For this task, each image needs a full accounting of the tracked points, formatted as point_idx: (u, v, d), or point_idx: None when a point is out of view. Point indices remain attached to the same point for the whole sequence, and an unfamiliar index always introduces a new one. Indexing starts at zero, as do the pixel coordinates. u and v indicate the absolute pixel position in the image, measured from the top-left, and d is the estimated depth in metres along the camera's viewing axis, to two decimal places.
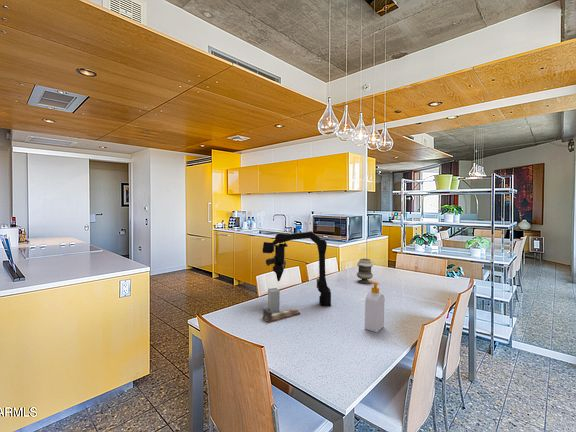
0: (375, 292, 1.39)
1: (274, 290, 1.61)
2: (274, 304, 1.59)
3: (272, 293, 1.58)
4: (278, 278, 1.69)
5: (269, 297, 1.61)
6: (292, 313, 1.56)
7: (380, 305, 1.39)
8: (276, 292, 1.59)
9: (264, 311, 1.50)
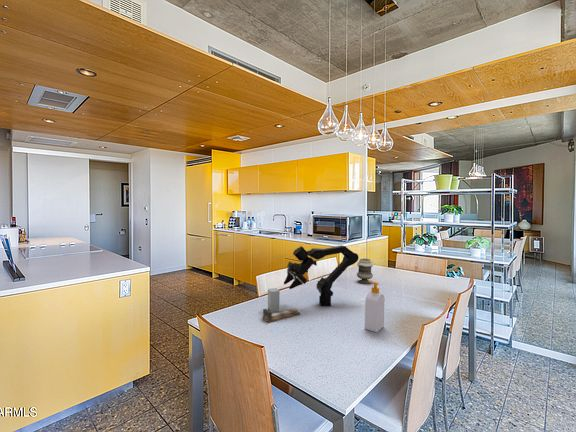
0: (375, 292, 1.39)
1: (274, 290, 1.61)
2: (274, 304, 1.59)
3: (272, 293, 1.58)
4: (292, 286, 1.60)
5: (269, 297, 1.61)
6: (292, 313, 1.56)
7: (380, 305, 1.39)
8: (276, 292, 1.59)
9: (264, 311, 1.50)
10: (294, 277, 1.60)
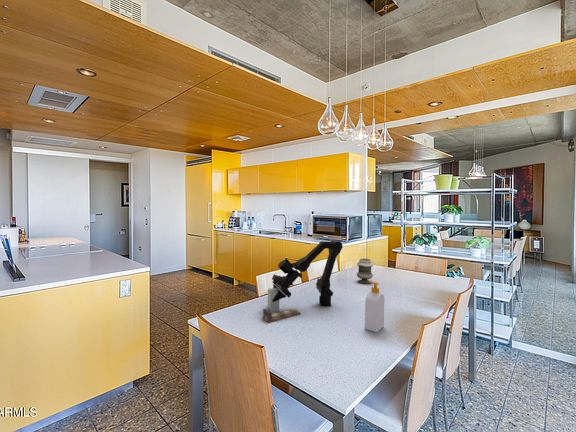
0: (375, 292, 1.39)
1: (274, 290, 1.61)
2: (274, 304, 1.59)
3: (272, 293, 1.58)
4: (275, 299, 1.58)
5: (269, 297, 1.61)
6: (292, 313, 1.56)
7: (380, 305, 1.39)
8: (276, 292, 1.59)
9: (264, 311, 1.50)
10: None
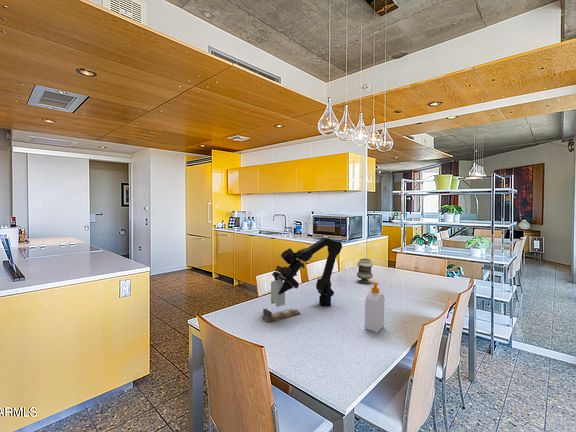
0: (375, 292, 1.39)
1: (279, 282, 1.52)
2: (280, 297, 1.51)
3: (278, 285, 1.50)
4: (281, 291, 1.50)
5: (274, 290, 1.52)
6: (292, 313, 1.56)
7: (380, 305, 1.39)
8: (282, 284, 1.51)
9: (264, 311, 1.50)
10: (284, 281, 1.51)
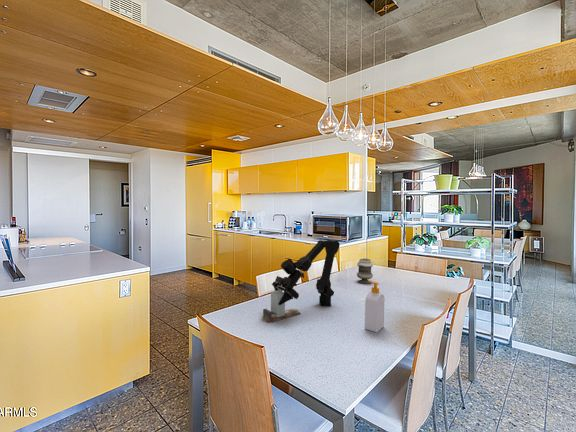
0: (375, 292, 1.39)
1: (279, 293, 1.52)
2: (280, 307, 1.50)
3: (278, 296, 1.49)
4: (281, 302, 1.50)
5: (274, 300, 1.51)
6: (292, 313, 1.56)
7: (380, 305, 1.39)
8: (282, 294, 1.51)
9: (264, 311, 1.50)
10: (284, 292, 1.50)
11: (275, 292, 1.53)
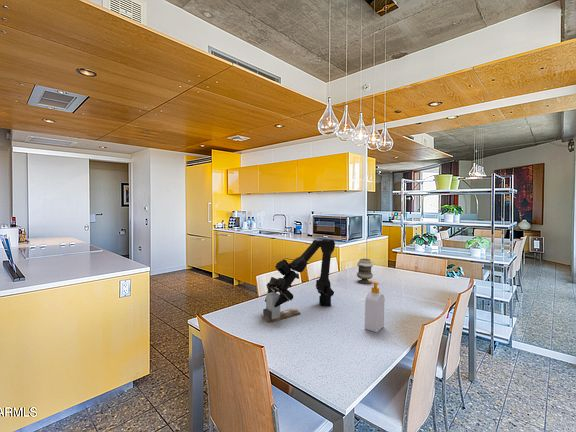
0: (375, 292, 1.39)
1: (274, 294, 1.50)
2: (275, 309, 1.49)
3: (273, 298, 1.48)
4: (277, 304, 1.46)
5: (269, 302, 1.49)
6: (292, 313, 1.56)
7: (380, 305, 1.39)
8: (277, 296, 1.49)
9: (264, 311, 1.50)
10: None
11: (270, 294, 1.51)
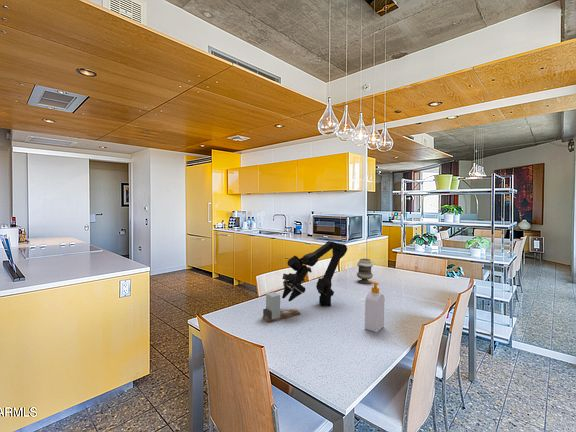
0: (375, 292, 1.39)
1: (274, 294, 1.50)
2: (275, 309, 1.49)
3: (273, 298, 1.48)
4: (291, 298, 1.53)
5: (269, 302, 1.49)
6: (292, 313, 1.56)
7: (380, 305, 1.39)
8: (277, 296, 1.49)
9: (264, 311, 1.50)
10: (292, 288, 1.54)
11: (270, 294, 1.51)
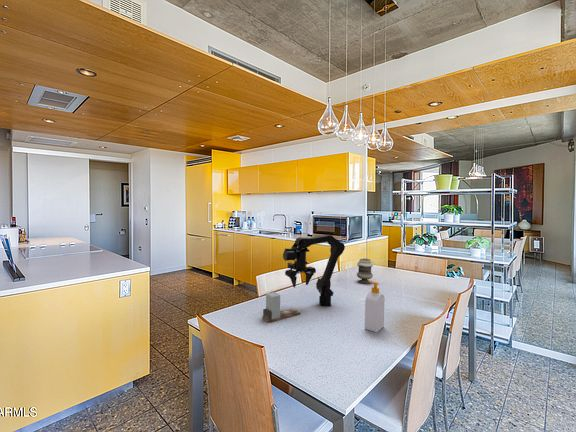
0: (375, 292, 1.39)
1: (274, 294, 1.50)
2: (275, 309, 1.49)
3: (273, 298, 1.48)
4: (293, 284, 1.63)
5: (269, 302, 1.49)
6: (292, 313, 1.56)
7: (380, 305, 1.39)
8: (277, 296, 1.49)
9: (264, 311, 1.50)
10: None
11: (270, 294, 1.51)
